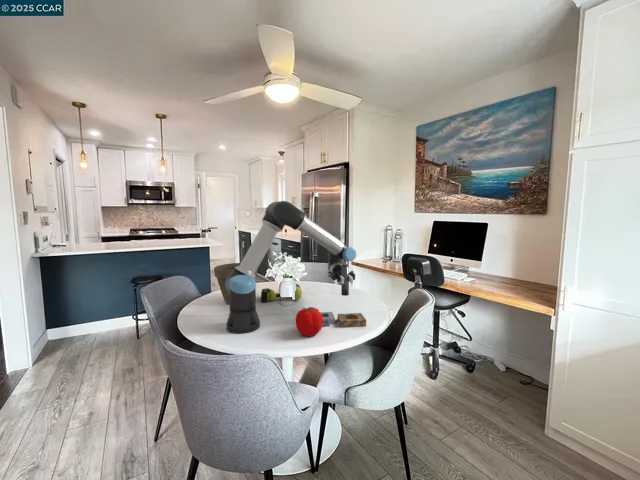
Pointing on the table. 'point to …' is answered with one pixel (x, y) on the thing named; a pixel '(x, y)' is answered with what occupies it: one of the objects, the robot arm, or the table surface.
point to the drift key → (325, 325)
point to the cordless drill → (271, 295)
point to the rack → (351, 320)
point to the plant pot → (225, 277)
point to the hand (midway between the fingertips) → (347, 280)
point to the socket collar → (328, 317)
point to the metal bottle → (345, 279)
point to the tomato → (309, 321)
